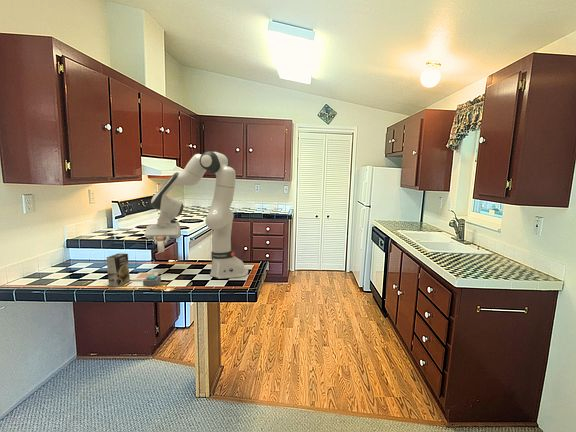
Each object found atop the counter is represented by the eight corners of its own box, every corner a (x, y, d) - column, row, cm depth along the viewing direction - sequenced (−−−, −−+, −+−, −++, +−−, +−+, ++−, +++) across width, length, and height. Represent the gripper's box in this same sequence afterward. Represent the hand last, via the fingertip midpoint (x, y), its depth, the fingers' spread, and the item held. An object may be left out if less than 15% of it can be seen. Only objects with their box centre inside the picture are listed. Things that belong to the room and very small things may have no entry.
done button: (156, 278, 173) (156, 275, 173) (154, 280, 170) (154, 277, 169) (150, 278, 173) (149, 275, 173) (147, 280, 169) (147, 277, 169)
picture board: (159, 273, 188) (159, 272, 188) (152, 280, 176) (152, 278, 176) (139, 274, 188) (139, 272, 188) (130, 281, 176) (130, 279, 176)
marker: (165, 250, 185) (164, 235, 184) (163, 252, 182) (162, 237, 181) (159, 250, 185) (158, 235, 184) (157, 252, 182) (156, 237, 180)
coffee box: (118, 287, 167) (116, 257, 164) (108, 286, 168) (105, 257, 166) (130, 281, 176) (128, 253, 173) (120, 280, 177) (118, 252, 175)
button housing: (161, 281, 175) (160, 276, 175) (156, 285, 168) (156, 280, 168) (148, 281, 175) (148, 276, 175) (143, 286, 168) (142, 280, 168)
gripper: (145, 221, 187) (140, 241, 179) (180, 220, 188) (176, 240, 180) (149, 227, 192) (144, 246, 184) (182, 226, 193) (179, 246, 185)
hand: (160, 243), depth 182 cm, fingers closed on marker, 4 cm apart
